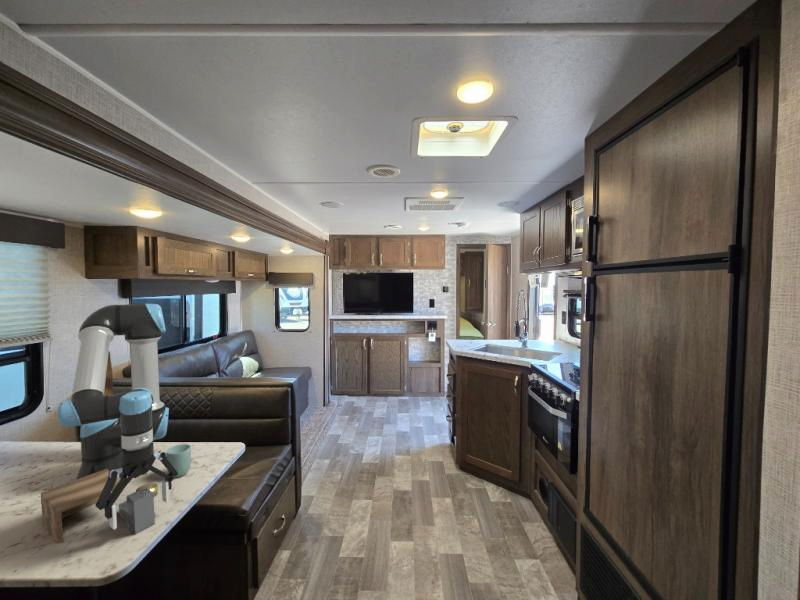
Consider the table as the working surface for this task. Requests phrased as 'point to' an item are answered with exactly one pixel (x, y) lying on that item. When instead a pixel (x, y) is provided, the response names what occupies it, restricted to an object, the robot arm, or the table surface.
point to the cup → (180, 458)
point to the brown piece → (71, 500)
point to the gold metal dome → (150, 488)
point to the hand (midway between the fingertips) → (141, 513)
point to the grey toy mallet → (139, 510)
